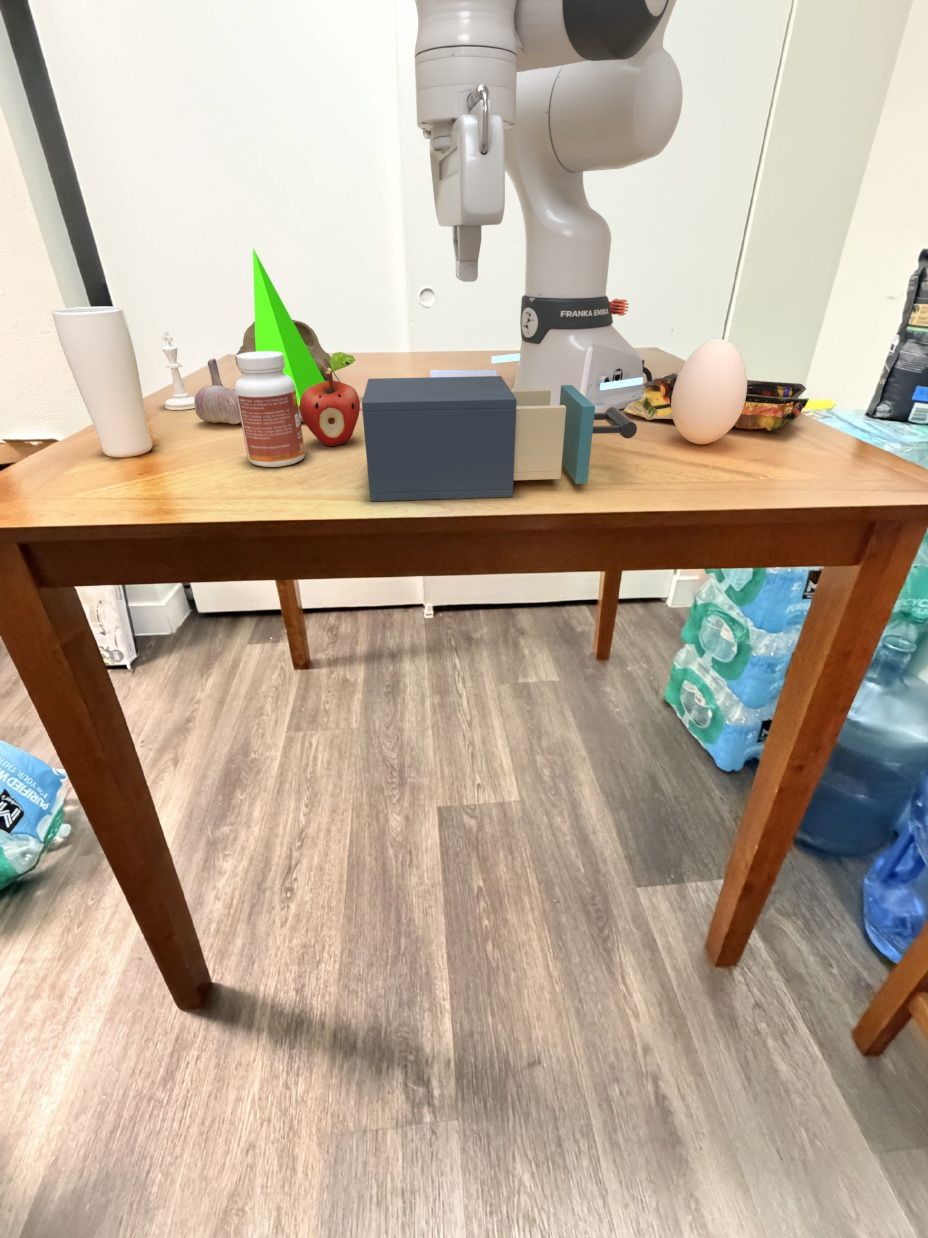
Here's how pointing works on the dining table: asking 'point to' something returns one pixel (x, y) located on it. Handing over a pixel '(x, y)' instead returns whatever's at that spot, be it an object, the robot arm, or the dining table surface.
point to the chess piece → (176, 379)
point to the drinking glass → (106, 376)
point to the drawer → (559, 433)
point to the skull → (308, 338)
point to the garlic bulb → (217, 400)
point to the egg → (709, 392)
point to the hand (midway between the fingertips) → (466, 280)
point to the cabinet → (439, 438)
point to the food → (761, 408)
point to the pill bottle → (268, 410)
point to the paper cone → (281, 333)
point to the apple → (331, 406)
